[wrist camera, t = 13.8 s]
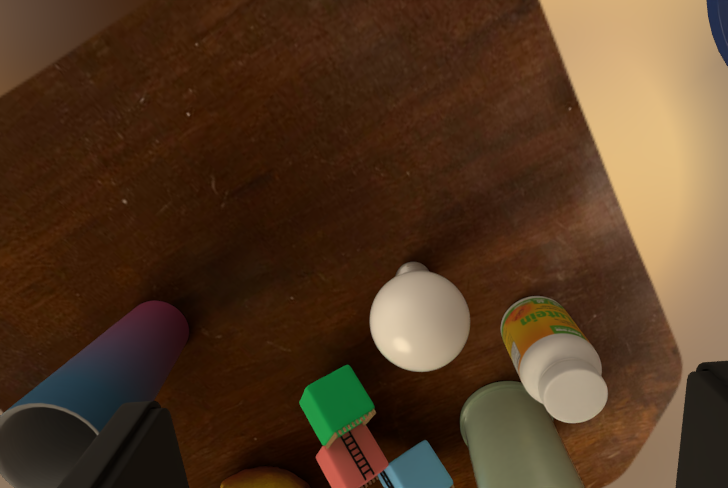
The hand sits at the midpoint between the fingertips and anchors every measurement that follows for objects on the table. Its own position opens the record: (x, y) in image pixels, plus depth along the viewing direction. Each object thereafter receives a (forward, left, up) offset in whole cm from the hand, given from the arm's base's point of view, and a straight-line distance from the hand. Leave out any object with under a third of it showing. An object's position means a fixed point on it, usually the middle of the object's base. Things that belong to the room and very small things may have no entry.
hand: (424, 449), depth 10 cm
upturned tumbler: (-8, +23, -30) cm, 39 cm away
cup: (+20, +12, -31) cm, 38 cm away
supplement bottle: (-10, +14, -31) cm, 35 cm away
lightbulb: (-1, +9, -31) cm, 32 cm away
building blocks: (+3, +22, -31) cm, 38 cm away
